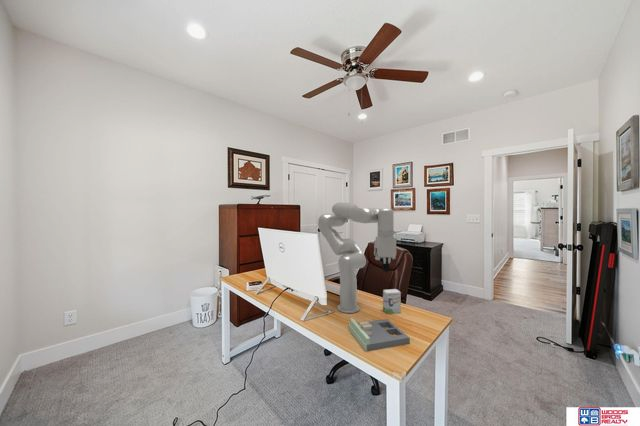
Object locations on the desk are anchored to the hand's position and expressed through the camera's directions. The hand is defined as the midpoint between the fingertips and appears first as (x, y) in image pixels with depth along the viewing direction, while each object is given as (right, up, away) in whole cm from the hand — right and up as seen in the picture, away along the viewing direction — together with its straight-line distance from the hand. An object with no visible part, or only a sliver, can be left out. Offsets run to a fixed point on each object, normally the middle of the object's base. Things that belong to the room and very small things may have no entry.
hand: (385, 271), depth 115 cm
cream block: (-12, -25, -11) cm, 30 cm away
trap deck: (-6, -27, -8) cm, 29 cm away
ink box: (+8, -27, +17) cm, 33 cm away
